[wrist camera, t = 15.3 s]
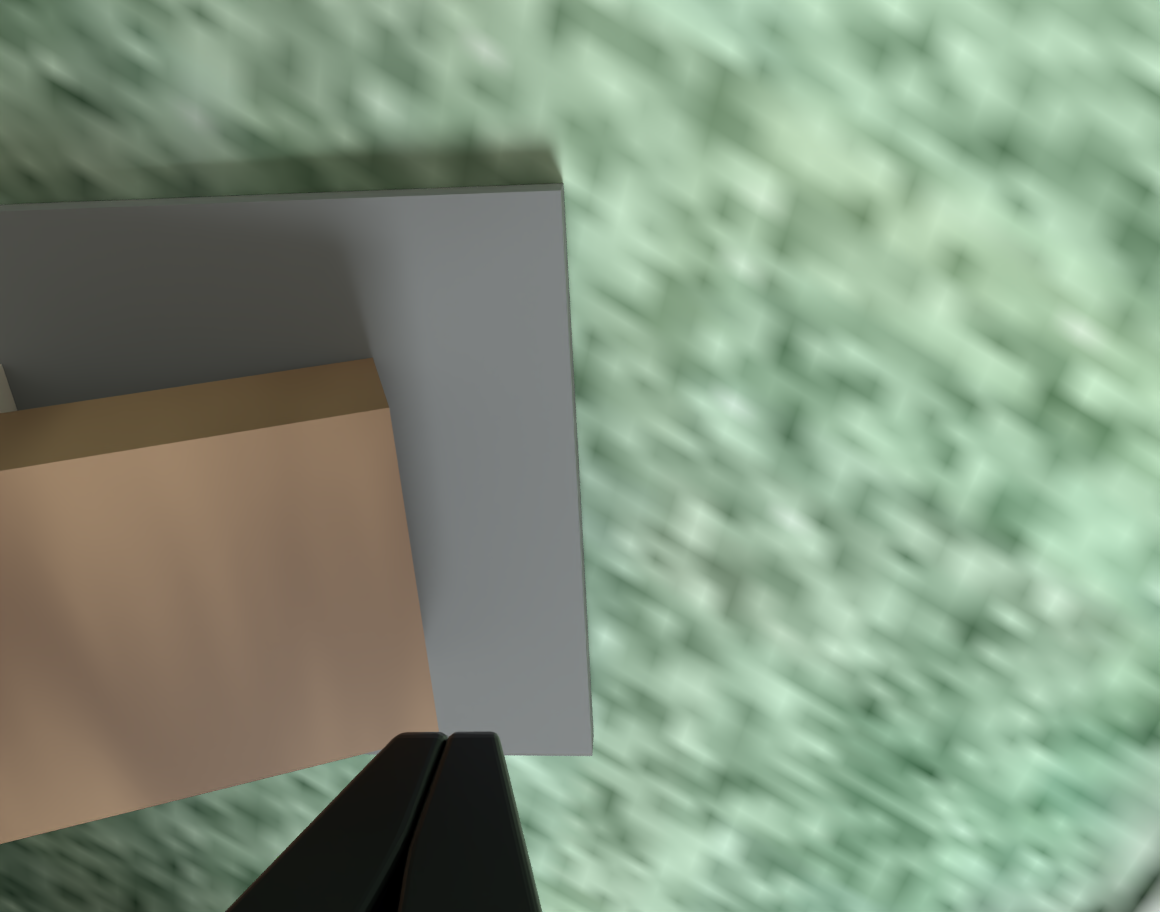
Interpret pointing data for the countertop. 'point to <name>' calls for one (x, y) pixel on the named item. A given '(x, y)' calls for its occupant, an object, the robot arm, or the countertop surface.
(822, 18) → the countertop surface
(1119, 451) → the countertop surface
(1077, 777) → the countertop surface
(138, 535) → the walnut domino
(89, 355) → the mat
